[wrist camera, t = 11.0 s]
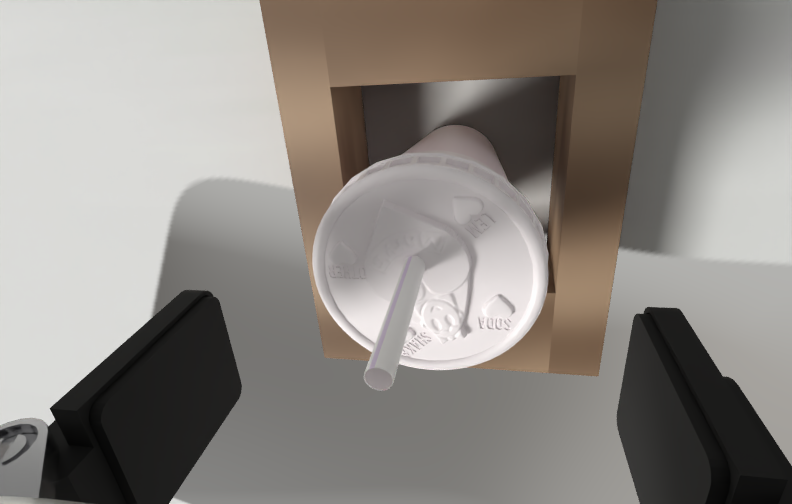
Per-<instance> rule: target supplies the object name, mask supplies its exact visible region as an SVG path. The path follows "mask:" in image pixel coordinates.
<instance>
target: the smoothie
mask: <svg viewBox="0 0 792 504" xmlns="http://www.w3.org/2000/svg"><path fill="white" fill-rule="evenodd" d="M548 255H549V254H548V249H547V245H546V241H545V236H544V232H543V227H542V225H541V223H540V221H539V220H538V218H537V216H536V214H535V213H534V211H533V209H532V207H531V206H530V204H529V202H528V200H527V199H526V198H525V197H524V196H523V195H522V194H521V193H520V192H519V191H518V190H517V189H516V188H515V187H514V186H513V185H512V184H510V183H509V181H508V179H507V177H506V174H505V172H504V170H503V168H502V165H501V163H500V161H499V159H498V156H497V154H496V152H495V150H494V147H493V146H492V144H491V143H490V141H489V140H488V139H487V138H486V137H485V136H484V135H483V134H482V133H480V132H479V131H477V130H475V129H473V128H471V127H468V126H464V125H448V126H444V127H441V128H438V129H436V130H434V131H433V132H431V133H430V134H428V135H427V136H426V137H424V138H423V139H422V140H420V141H419V142H418V143H416V144H415V145H414V146H412V147H411V148H410V149H408V150H407V151H406V152H404V153H403V154H402V155H399V156H396V157H392V158H389V159H385V160H382V161H378V162H376V163H375V164H373V165H372V166H370V167H368V168H367V169H365V170H363V171H362V172H360V173H359V174H357V175H355V176H354V177H352V178H351V179H350V180H349V182H348V183H347V184H346V185H345V186H344V187H343V188H342V190H341V191H340V192H339V193H338V194H337V195H336V196H335V197H334V199H333V201H332V203H331V205H330V207H329V208H328V210H327V211H326V213H325V214H324V216H323V218H322V220H321V222H320V224H319V226H318V229H317V232H316V235H315V240H314V245H313V254H312V265H313V273H314V278H315V283H316V286H317V289H318V292H319V294H320V297H321V299H322V301H323V303H324V305H325V307H326V308H327V310H328V312H329V313H330V315H331V316H332V318H333V319H334V320H335V321H336V323H337V324H338V325H339V326H340V327H341V328H342V329H343V330H344V331H345V332H346V333H347V334H348V335H349V336H350V337H351V338H352V339H353V340H355V341H356V342H357V343H359V344H360V345H361V346H363V347H364V348H366V349H368V350H369V351H371V352H372V354H371V356H370V359H369V362H368V365H367V368H366V370H365V373H364V380H365V382H366V384H367V385H368V386H370V387H371V388H373V389H376V390H380V391H383V390H387V389H389V388H391V386H392V385H393V382H394V379H395V375H396V371H397V368H398V364H402V365H405V366H409V367H415V368H420V369H428V370H451V369H459V368H465V367H470V366H474V365H477V364H481V363H483V362H486V361H488V360H491V359H493V358H495V357H497V356H499V355H501V354H502V353H504V352H505V351H507V350H508V349H510V348H511V347H512V346H514V345H515V344H516V343H517V342H518V341H519V340H521V339H522V338H523V337H524V336H525V334H526V333H527V332H528V331H529V330H530V328H531V327H532V326H533V324H534V323H535V321H536V319H537V317H538V316H539V314H540V312H541V309H542V307H543V304H544V301H545V297H546V294H547V287H548Z"/></svg>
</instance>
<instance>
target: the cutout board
mask: <svg viewBox="0 0 792 504" xmlns="http://www.w3.org/2000/svg"><path fill="white" fill-rule="evenodd" d="M260 6H261V11H262V17H263V22H264V28H265V33H266V39H267V44H268V50H269V55H270V61H271V66H272V72H273V77H274V82H275V88H276V93H277V99H278V104H279V110H280V115H281V121H282V126H283V132H284V137H285V143H286V148H287V154H288V159H289V165H290V170H291V176H292V181H293V186H294V192H295V197H296V202H297V208H298V214H299V219H300V225H301V230H302V236H303V241H304V246H305V252H306V258H307V263H308V268H309V274H310V280H311V285H312V290H313V296H314V301H315V307H316V312H317V318H318V323H319V329H320V334H321V339H322V345H323V351H324V356H325V358H338V359H351V360H366V361H369V359H370V356H371V354H372V352H371V351H369V350H368V349H366V348H364V347H363V346H361V345H360V344H359V343H357V342H356V341H355V340H353V339H352V338H351V337H350V336H349V335H348V334H347V333H346V332H345V331H344V330H343V329H342V328H341V327H340V326H339V325H338V324H337V323H336V321H335V320H334V319H333V318H332V316H331V315H330V313H329V312H328V310H327V308H326V307H325V305H324V303H323V301H322V299H321V297H320V294H319V292H318V289H317V286H316V283H315V278H314V273H313V265H312V254H313V245H314V240H315V235H316V232H317V229H318V226H319V224H320V222H321V220H322V218H323V216H324V214H325V213H326V211H327V210H328V208H329V207H330V205H331V203H332V201H333V199H334V197H335V196H336V195H337V194H338V193H339V192H340V191H341V190H342V188H343V187H344V186H345V185H346V184H347V183H348V182H349V180H350V179H351V178H352V177H354V176H355V175H357V174H359V173H360V172H362V171H363V170H365V169H367V168H368V167H369V158H368V149H367V139H366V129H365V120H364V110H363V100H362V91H361V86H364V85H384V84H404V83H424V82H443V81H463V80H483V79H502V78H522V77H542V76H560V83H559V96H558V108H557V121H556V134H555V146H554V159H553V171H552V184H551V197H550V209H549V222H548V234H547V249H548V254H549V255H548V287H547V294H546V297H545V301H544V304H543V307H542V309H541V312H540V314H539V316H538V317H537V319H536V321H535V323H534V324H533V326H532V327H531V328H530V330H529V331H528V332H527V333H526V334H525V336H524V337H523V338H522V339H521V340H519V341H518V342H517V343H516V344H515V345H514V346H512V347H511V348H510V349H508V350H507V351H505V352H504V353H502V354H501V355H499V356H497V357H495V358H493V359H491V360H488V361H486V362H483V363H481V364H477V365H474V366H470V367H468V368H484V369H498V370H512V371H527V372H542V373H557V374H572V375H586V376H598V375H599V369H600V362H601V356H602V350H603V343H604V336H605V330H606V324H607V318H608V312H609V305H610V299H611V292H612V285H613V280H614V273H615V267H616V261H617V254H618V248H619V242H620V235H621V229H622V223H623V216H624V210H625V204H626V197H627V191H628V184H629V178H630V172H631V165H632V159H633V153H634V146H635V140H636V134H637V127H638V121H639V115H640V108H641V102H642V96H643V89H644V83H645V76H646V70H647V64H648V57H649V51H650V45H651V38H652V32H653V26H654V19H655V13H656V7H657V0H260Z"/></svg>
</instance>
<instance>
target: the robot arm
mask: <svg viewBox="0 0 792 504" xmlns="http://www.w3.org/2000/svg"><path fill="white" fill-rule="evenodd" d="M241 387H242V385H241V380H240V377H239V373H238V369H237V366H236V362H235V358H234V354H233V351H232V347H231V344H230V340H229V336H228V332H227V328H226V325H225V321H224V317H223V313H222V310H221V306H220V302H219V300H218V299H217V298H216V297H213V295H212V293H211V292H209V291H198V290H185V291H183V292H181V293H180V294H179V295H178V296H176V298H174V299H173V300H172V301H171V302H170V303H169V304H168V305H166V306H165V307H164V308H163V309H162V310H161V311H160V312H159V313H157V314H156V315H155V316H154V317H153V318H152V319H150V320H149V321H148V322H147V323H146V324H145V325H144V326H143V327H141V328H140V329H139V330H138V331H137V332H136V333H135V334H133V335H132V336H131V337H130V338H129V339H128V340H127V341H126V342H124V343H123V344H122V345H121V346H120V347H119V348H118V349H116V350H115V351H114V352H113V353H112V354H111V355H110V356H109V357H107V358H106V359H105V360H104V361H103V362H102V363H101V364H99V365H98V366H97V367H96V368H95V369H94V370H93V371H92V372H90V373H89V374H88V375H87V376H86V377H85V378H84V379H82V380H81V381H80V382H79V383H78V384H77V385H76V386H75V387H73V388H72V389H71V390H70V391H69V392H68V393H67V394H65V395H64V396H63V397H62V398H61V399H60V400H59V401H58V402H56V403H55V404H54V405H53V406H52V407H51V408H50V410H51V412H52V414H53V416H54V418H55V421H54V422H53V423H52V424H51V425H50V426H49V427H48V425H47V424H46V423H45V422H44V421H43V420H41V419H36V418H25V419H19V420H15V421H11V422H8V423H5V424H3V425H0V504H169V502H170V501H171V499H172V498H173V496H174V495H175V493H176V492H177V490H178V489H179V487H180V486H181V484H182V483H183V481H184V480H185V478H186V477H187V475H188V474H189V473H190V471H191V469H192V468H193V467H194V465H195V464H196V462H197V460H198V459H199V457H200V456H201V455H202V453H203V452H204V450H205V448H206V447H207V445H208V444H209V442H210V441H211V440H212V438H213V436H214V435H215V433H216V432H217V430H218V429H219V427H220V426H221V425H222V423H223V421H224V420H225V418H226V417H227V415H228V414H229V412H230V411H231V409H232V408H233V407H234V405H235V404H236V402H237V400H238V399H239V397H240V394H241ZM617 426H618V431H619V435H620V438H621V442H622V444H623V448H624V452H625V455H626V458H627V461H628V465H629V468H630V472H631V475H632V478H633V482H634V485H635V488H636V492H637V495H638V498H639V502H640V504H792V466H791V464H790V463H789V461H788V460H787V458H786V457H785V455H784V454H783V452H782V451H781V450H780V448H779V446H778V445H777V444H776V442H775V440H774V439H773V437H772V436H771V434H770V433H769V431H768V430H767V428H766V427H765V425H764V424H763V422H762V421H761V419H760V418H759V416H758V415H757V413H756V412H755V410H754V408H753V407H752V405H751V404H750V402H749V401H748V399H747V398H746V396H745V395H744V393H743V392H742V390H741V389H740V387H739V386H738V385H737V383H736V382H735V381H734V380H733V379H731V378H729V377H723V376H722V375H721V373H720V372H719V370H718V368H717V367H716V365H715V364H714V362H713V360H712V359H711V357H710V356H709V354H708V353H707V351H706V349H705V348H704V346H703V345H702V343H701V342H700V340H699V339H698V337H697V335H696V334H695V332H694V330H693V329H692V327H691V326H690V324H689V323H688V321H687V320H686V318H685V316H684V315H683V313H682V312H681V310H680V309H677V308H657V307H647V308H646V309H645V311H644V314H636V315H635V317H634V320H633V325H632V331H631V336H630V342H629V348H628V354H627V359H626V365H625V371H624V376H623V382H622V388H621V393H620V399H619V405H618V411H617Z"/></svg>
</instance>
